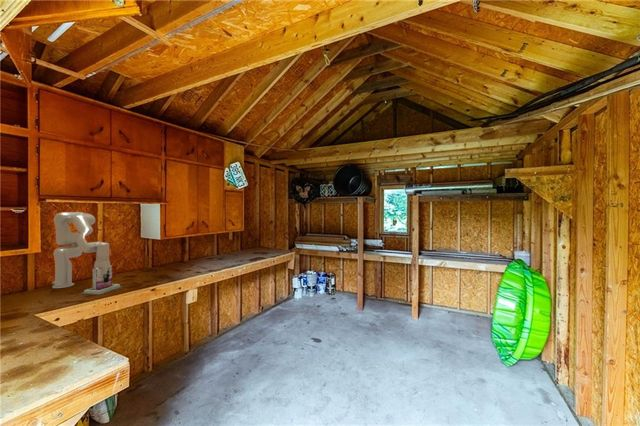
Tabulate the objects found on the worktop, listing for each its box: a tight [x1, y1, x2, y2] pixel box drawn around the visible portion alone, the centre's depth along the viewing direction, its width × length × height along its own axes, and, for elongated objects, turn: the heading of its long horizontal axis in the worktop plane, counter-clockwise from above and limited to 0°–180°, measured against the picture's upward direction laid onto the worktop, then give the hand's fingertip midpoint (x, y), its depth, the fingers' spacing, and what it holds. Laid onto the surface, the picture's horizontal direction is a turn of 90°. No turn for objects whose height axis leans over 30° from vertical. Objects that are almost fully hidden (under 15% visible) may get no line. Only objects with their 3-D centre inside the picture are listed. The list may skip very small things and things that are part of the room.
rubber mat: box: [79, 285, 124, 296], centre depth 200 cm, size 16×20×1 cm
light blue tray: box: [83, 283, 121, 294], centre depth 200 cm, size 12×18×2 cm, turn 175°
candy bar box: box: [92, 265, 113, 290], centre depth 200 cm, size 11×5×16 cm, turn 161°
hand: (102, 281), depth 200 cm, fingers closed on candy bar box, 5 cm apart
